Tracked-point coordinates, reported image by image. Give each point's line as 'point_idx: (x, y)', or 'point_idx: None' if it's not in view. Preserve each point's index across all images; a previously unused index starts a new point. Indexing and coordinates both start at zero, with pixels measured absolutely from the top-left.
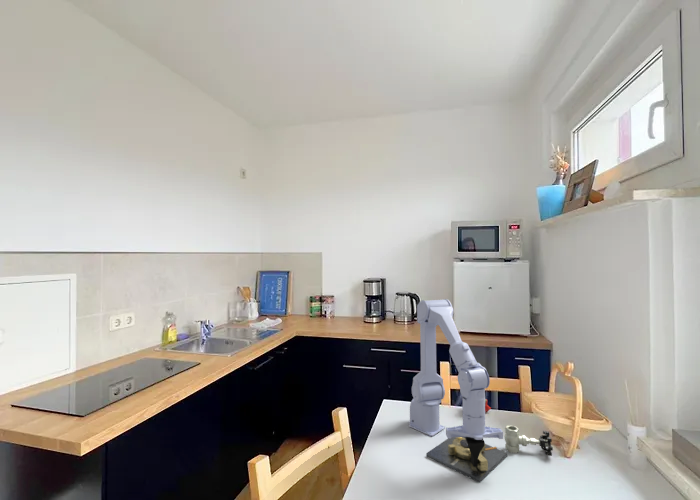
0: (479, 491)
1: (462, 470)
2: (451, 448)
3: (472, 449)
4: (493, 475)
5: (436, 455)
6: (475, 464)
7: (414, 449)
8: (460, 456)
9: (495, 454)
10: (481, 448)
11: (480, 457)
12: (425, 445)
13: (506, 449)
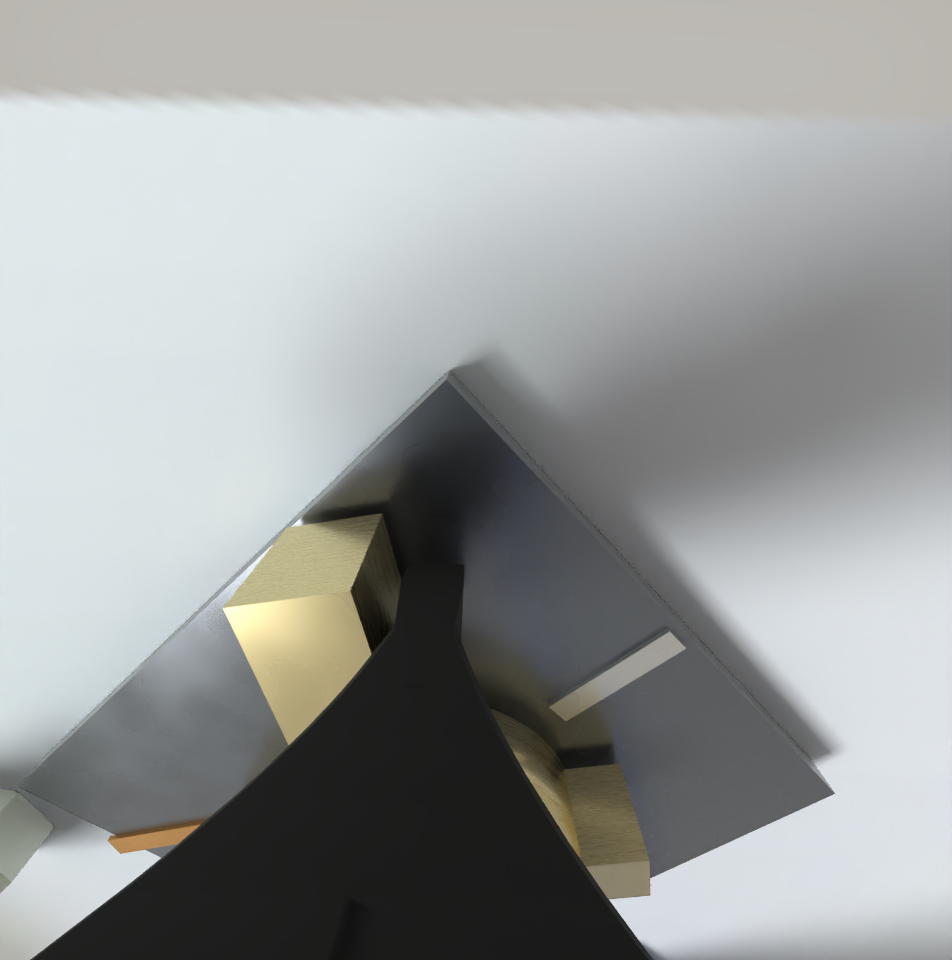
0: (518, 186)
1: (599, 544)
2: (628, 844)
3: (518, 821)
4: (244, 498)
5: (754, 765)
6: (436, 577)
7: (853, 836)
8: (532, 742)
9: (142, 767)
10: (196, 856)
11: (321, 682)
12: (728, 871)
13: (44, 823)
